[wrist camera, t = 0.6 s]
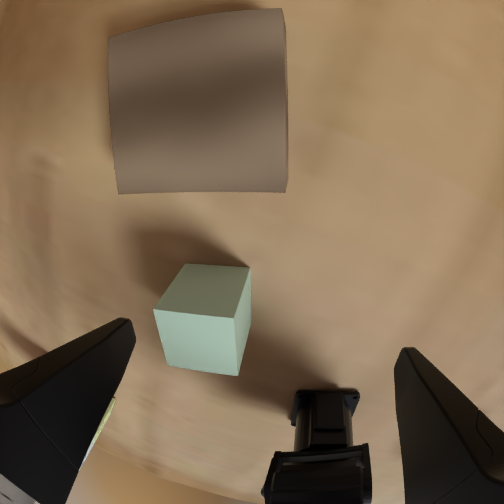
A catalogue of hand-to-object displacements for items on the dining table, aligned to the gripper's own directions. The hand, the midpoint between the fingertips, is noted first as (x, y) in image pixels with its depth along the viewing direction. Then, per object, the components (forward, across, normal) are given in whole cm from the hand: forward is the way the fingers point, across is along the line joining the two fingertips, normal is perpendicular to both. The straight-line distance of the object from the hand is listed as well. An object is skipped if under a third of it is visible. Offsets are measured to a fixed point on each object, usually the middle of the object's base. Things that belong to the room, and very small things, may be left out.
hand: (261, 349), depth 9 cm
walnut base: (+12, +5, -8) cm, 16 cm away
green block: (+12, +5, +6) cm, 15 cm away
